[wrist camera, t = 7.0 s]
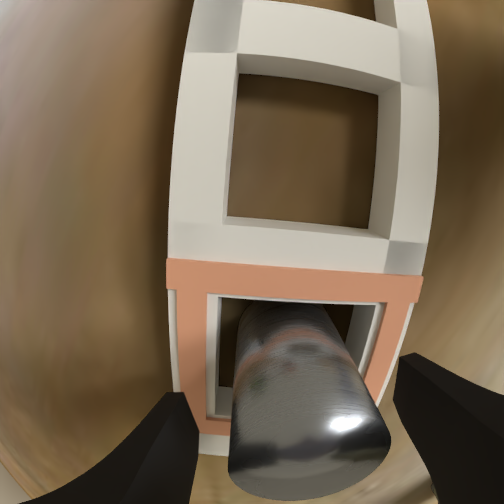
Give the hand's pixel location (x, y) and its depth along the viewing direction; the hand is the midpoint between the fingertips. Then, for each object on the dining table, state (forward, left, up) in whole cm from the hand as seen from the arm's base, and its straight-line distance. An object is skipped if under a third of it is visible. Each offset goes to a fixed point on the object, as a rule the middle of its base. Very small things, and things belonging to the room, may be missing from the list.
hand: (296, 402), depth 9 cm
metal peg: (0, 0, -4) cm, 4 cm away
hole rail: (0, -8, -4) cm, 9 cm away
